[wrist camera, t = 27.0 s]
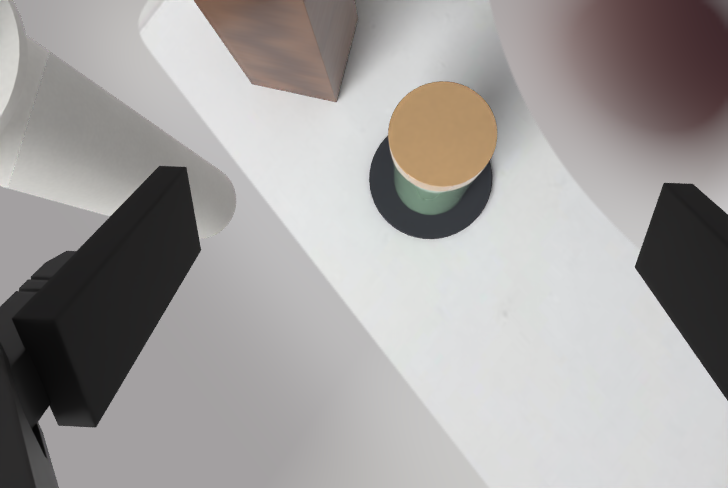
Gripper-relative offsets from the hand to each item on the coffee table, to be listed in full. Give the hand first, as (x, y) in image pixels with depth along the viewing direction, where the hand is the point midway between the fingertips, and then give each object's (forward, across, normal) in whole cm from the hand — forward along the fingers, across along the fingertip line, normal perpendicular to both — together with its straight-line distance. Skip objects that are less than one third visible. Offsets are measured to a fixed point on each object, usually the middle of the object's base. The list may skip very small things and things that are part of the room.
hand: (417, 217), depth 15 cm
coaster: (+27, +3, -11) cm, 29 cm away
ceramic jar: (+26, +3, -11) cm, 29 cm away
